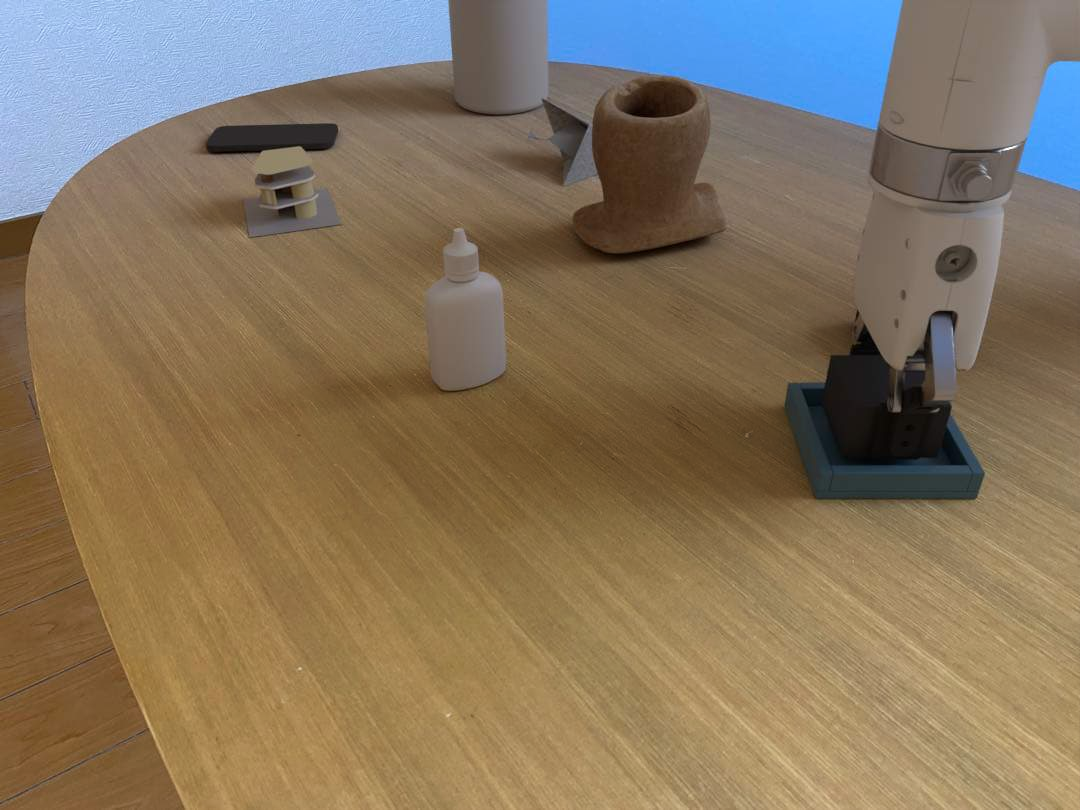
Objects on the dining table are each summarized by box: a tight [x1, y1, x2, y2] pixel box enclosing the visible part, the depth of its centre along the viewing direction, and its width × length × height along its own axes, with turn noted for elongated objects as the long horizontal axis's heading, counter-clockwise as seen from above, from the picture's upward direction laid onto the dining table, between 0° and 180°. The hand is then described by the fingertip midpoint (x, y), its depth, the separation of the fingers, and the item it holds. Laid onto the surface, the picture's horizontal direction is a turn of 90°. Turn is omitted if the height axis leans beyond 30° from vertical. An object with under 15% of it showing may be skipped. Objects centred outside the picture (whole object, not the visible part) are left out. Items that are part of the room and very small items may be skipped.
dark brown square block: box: [821, 354, 953, 458], centre depth 61 cm, size 6×6×4 cm
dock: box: [783, 381, 986, 500], centre depth 62 cm, size 10×10×2 cm
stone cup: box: [571, 74, 727, 254], centre depth 86 cm, size 15×12×15 cm
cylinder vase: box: [447, 0, 549, 115], centre depth 119 cm, size 12×12×25 cm
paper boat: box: [527, 98, 598, 187], centre depth 104 cm, size 12×6×9 cm
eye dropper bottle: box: [423, 227, 507, 392], centre depth 68 cm, size 4×6×12 cm
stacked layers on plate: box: [242, 146, 342, 238], centre depth 95 cm, size 10×9×6 cm
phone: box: [205, 122, 339, 153], centre depth 114 cm, size 7×1×15 cm
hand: (879, 422), depth 62 cm, fingers closed on dark brown square block, 6 cm apart
